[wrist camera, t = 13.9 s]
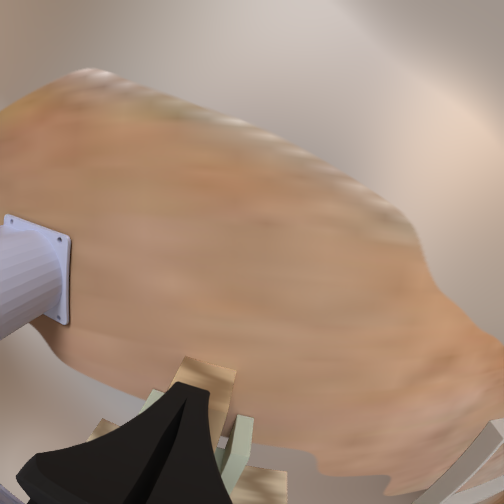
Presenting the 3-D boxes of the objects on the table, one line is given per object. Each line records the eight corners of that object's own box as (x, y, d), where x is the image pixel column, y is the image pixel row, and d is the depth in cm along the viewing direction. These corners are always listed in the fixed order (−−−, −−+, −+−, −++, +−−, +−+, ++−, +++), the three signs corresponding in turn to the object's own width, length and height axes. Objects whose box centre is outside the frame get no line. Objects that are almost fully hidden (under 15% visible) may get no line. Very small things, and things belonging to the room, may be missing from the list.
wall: (107, 451, 24) (84, 489, 18) (102, 418, 23) (72, 460, 16) (267, 497, 24) (264, 542, 17) (286, 471, 23) (287, 524, 16)
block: (150, 437, 23) (135, 468, 18) (153, 388, 21) (133, 422, 17) (234, 462, 23) (229, 496, 18) (253, 418, 21) (249, 457, 16)
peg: (173, 432, 22) (158, 469, 18) (185, 355, 20) (165, 394, 15) (214, 444, 22) (204, 482, 18) (236, 369, 20) (227, 413, 15)
